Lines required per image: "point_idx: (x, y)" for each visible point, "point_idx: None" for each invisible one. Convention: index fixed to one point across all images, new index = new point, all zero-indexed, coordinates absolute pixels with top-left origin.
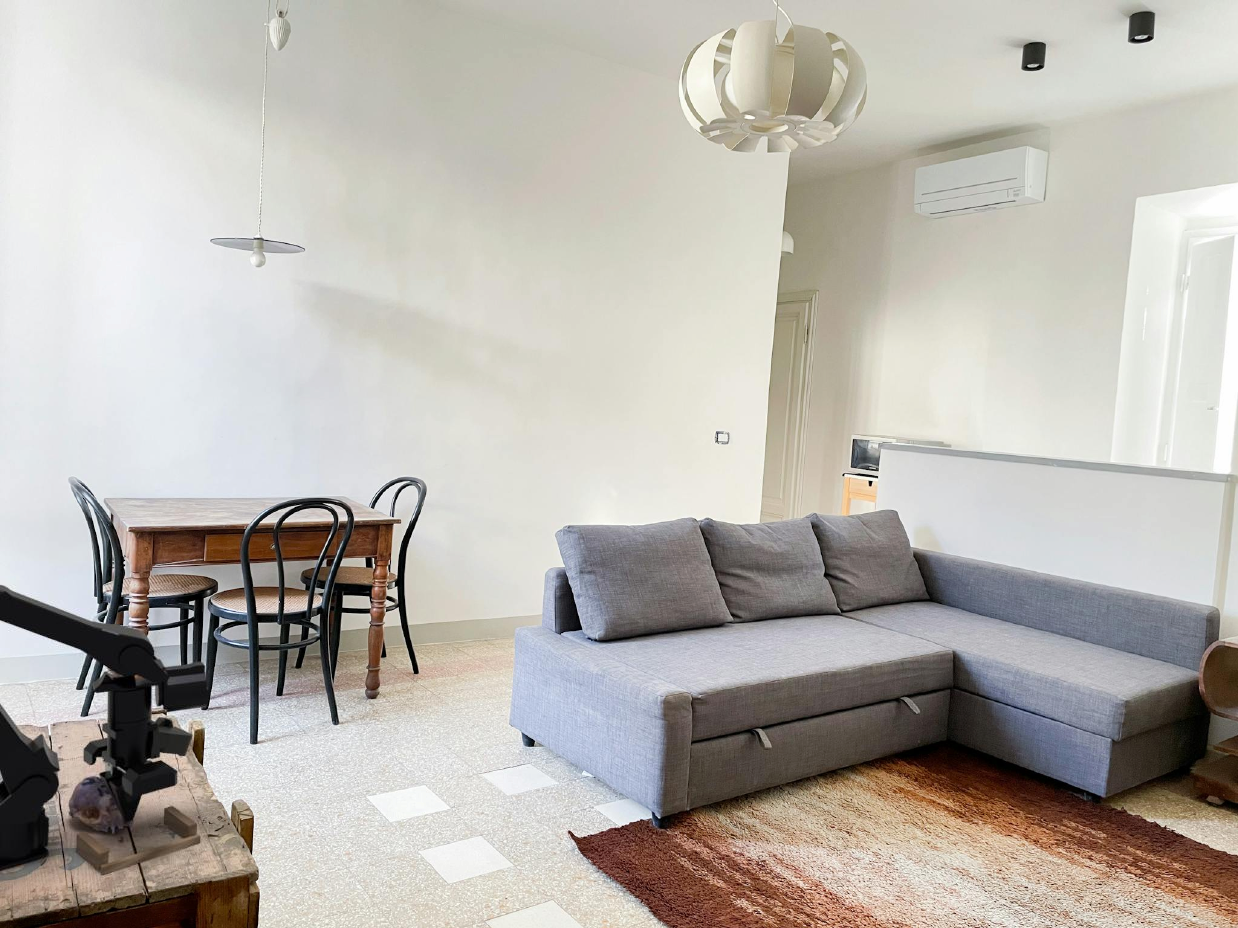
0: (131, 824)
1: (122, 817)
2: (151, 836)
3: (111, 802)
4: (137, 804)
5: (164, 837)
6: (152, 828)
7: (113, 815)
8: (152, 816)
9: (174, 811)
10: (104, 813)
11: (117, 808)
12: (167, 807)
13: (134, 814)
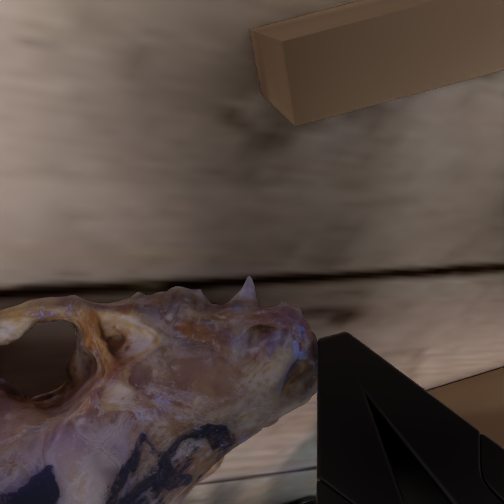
0: (287, 304)
1: (308, 387)
2: (391, 189)
3: (159, 490)
4: (436, 405)
5: (452, 124)
6: (289, 171)
7: (262, 428)
8: (89, 146)
9: (428, 51)
10: (213, 466)
11: (219, 436)
12: (297, 95)
13: (372, 352)
